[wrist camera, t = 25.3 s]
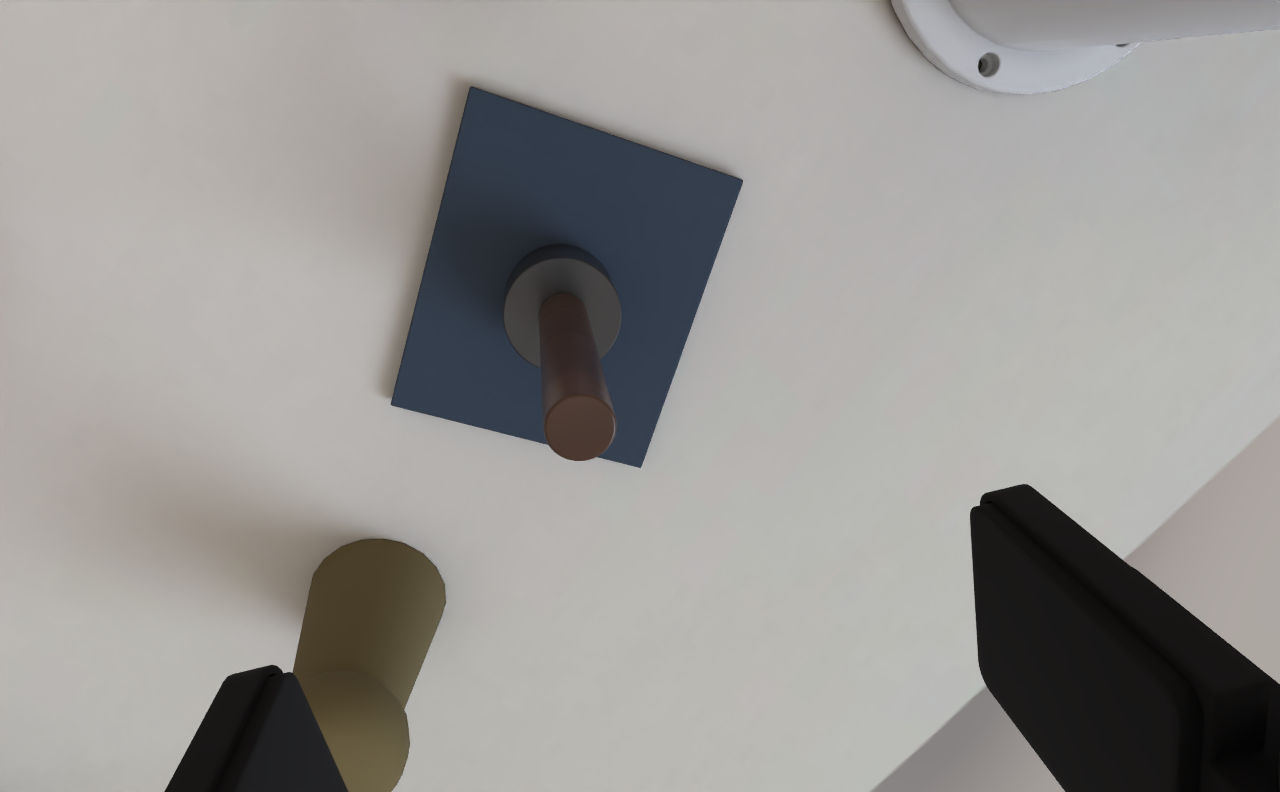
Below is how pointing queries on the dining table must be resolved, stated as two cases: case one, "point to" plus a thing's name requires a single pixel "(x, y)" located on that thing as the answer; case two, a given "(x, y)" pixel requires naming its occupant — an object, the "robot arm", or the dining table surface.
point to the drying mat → (545, 215)
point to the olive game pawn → (368, 654)
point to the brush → (566, 343)
